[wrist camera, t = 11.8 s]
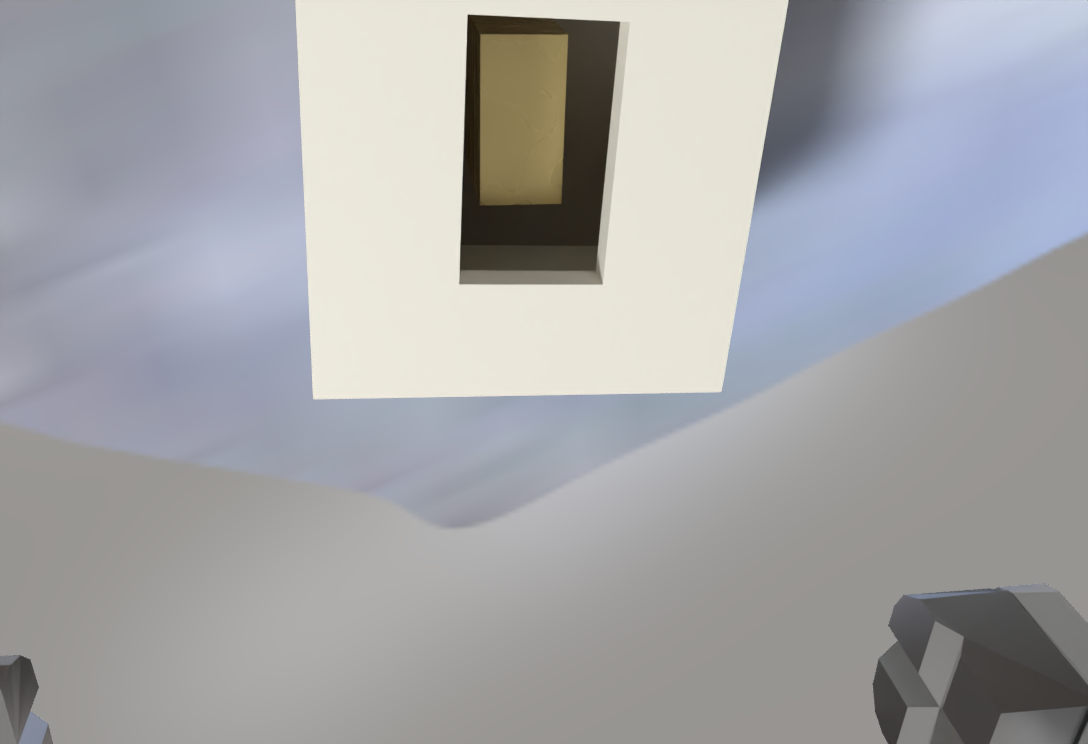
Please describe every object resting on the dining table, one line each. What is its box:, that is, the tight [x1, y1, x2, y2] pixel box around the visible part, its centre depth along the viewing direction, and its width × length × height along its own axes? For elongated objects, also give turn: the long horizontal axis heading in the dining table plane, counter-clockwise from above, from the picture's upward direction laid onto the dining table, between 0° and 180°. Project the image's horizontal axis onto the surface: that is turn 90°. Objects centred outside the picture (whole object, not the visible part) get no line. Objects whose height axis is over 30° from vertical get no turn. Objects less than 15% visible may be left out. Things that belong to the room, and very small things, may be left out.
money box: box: [295, 0, 789, 399], centre depth 30 cm, size 14×12×10 cm
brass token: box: [465, 14, 568, 206], centre depth 32 cm, size 5×2×5 cm, turn 178°
